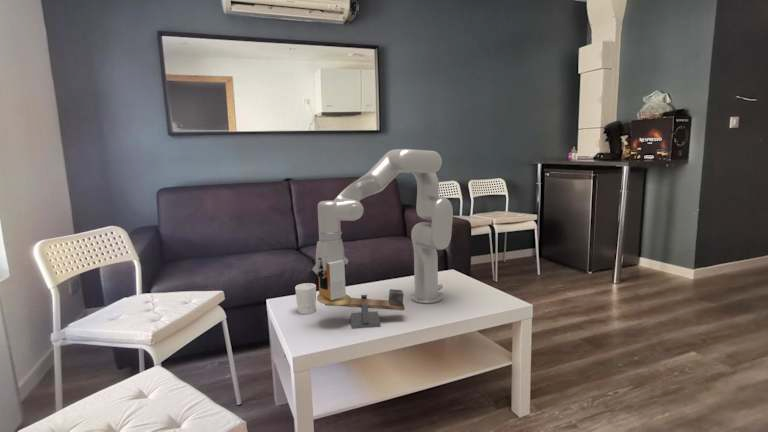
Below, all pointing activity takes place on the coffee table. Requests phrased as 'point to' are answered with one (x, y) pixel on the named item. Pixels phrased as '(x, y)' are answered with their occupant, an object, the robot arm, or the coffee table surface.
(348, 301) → the beam
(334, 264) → the small box
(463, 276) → the coffee table surface
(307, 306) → the white cup
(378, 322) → the beam stand
